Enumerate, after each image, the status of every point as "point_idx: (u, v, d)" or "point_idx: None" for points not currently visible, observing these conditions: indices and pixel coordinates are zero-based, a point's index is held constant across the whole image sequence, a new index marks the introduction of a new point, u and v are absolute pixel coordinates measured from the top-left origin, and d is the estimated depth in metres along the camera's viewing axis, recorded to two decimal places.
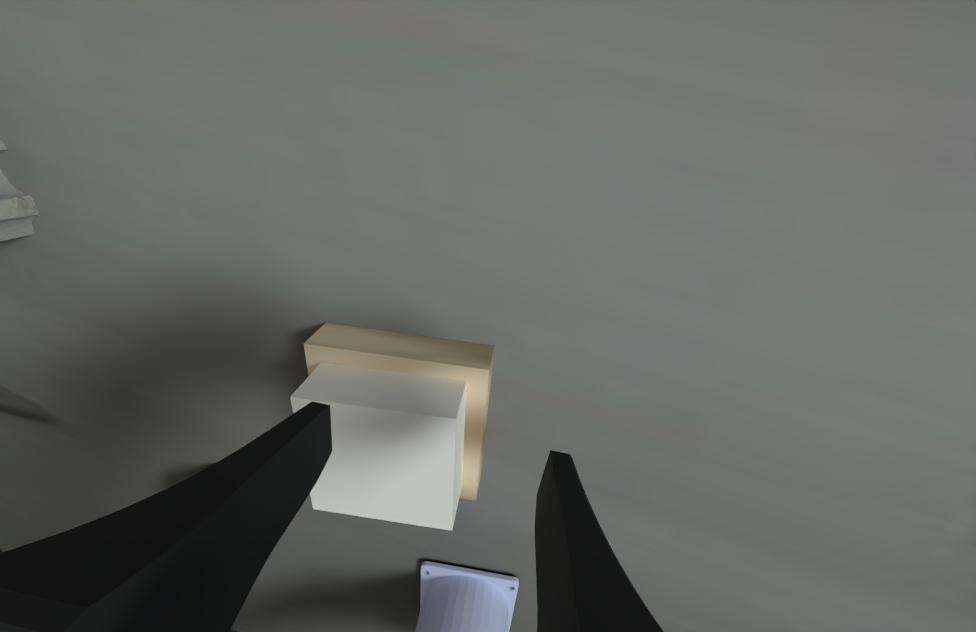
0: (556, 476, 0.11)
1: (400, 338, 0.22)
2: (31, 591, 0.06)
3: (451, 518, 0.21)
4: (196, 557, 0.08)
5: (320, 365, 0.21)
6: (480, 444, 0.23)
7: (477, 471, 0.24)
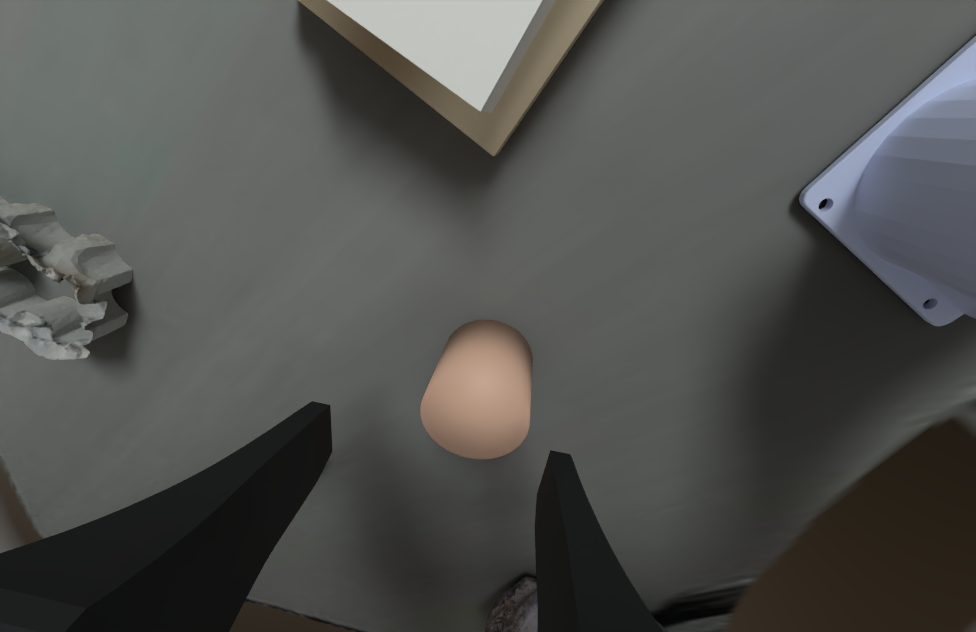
0: (556, 476, 0.11)
1: None
2: (32, 591, 0.06)
3: None
4: (196, 557, 0.08)
5: None
6: None
7: None
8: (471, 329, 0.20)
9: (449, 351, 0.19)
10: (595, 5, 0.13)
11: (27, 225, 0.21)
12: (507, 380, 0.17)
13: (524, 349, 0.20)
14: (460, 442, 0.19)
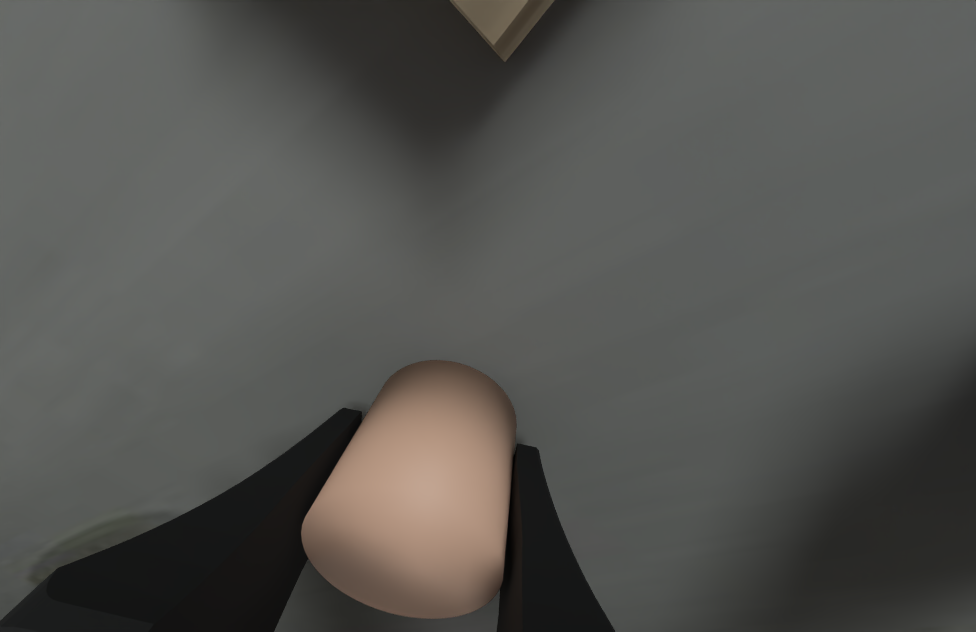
0: (519, 468, 0.11)
1: None
2: (98, 606, 0.06)
3: None
4: (246, 568, 0.08)
5: None
6: None
7: None
8: (420, 378, 0.12)
9: (375, 418, 0.11)
10: None
11: None
12: (470, 507, 0.09)
13: (505, 420, 0.12)
14: (374, 589, 0.10)
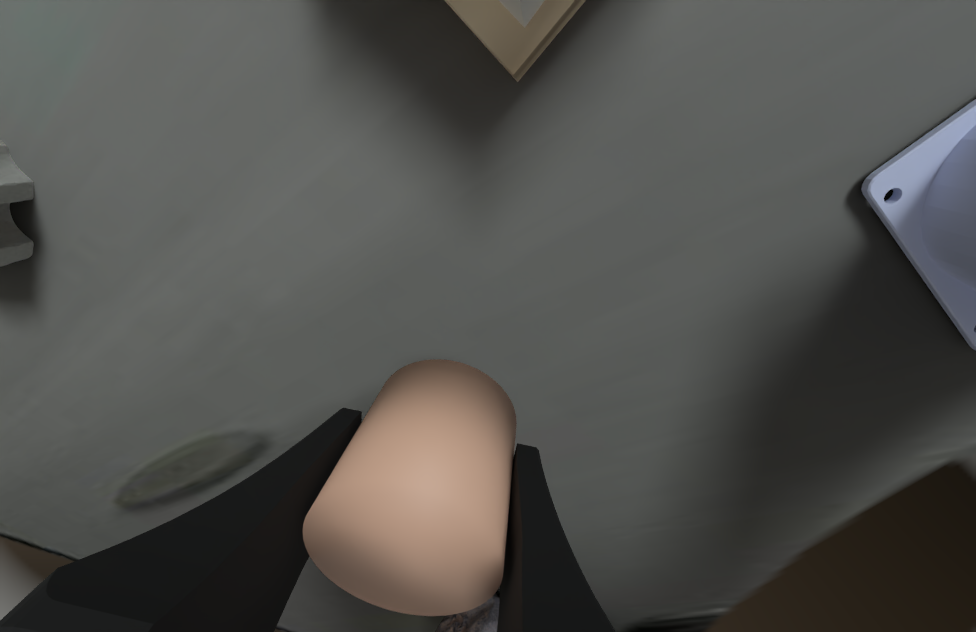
0: (519, 468, 0.11)
1: None
2: (97, 607, 0.06)
3: None
4: (246, 568, 0.08)
5: None
6: None
7: None
8: (421, 377, 0.12)
9: (375, 417, 0.11)
10: None
11: None
12: (470, 504, 0.09)
13: (505, 419, 0.12)
14: (375, 587, 0.10)
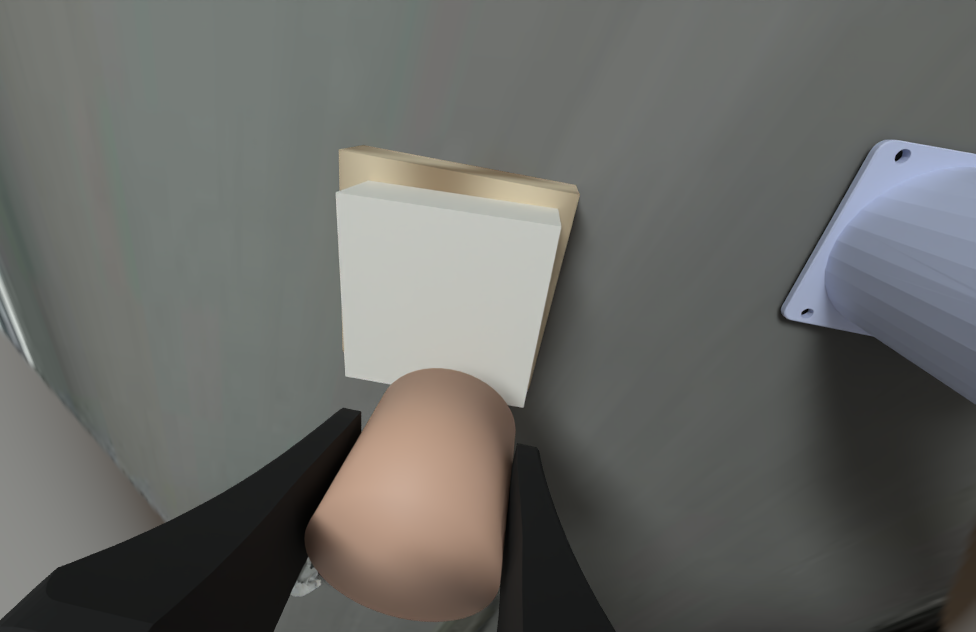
0: (519, 468, 0.11)
1: None
2: (97, 607, 0.06)
3: (531, 223, 0.14)
4: (246, 568, 0.08)
5: None
6: (462, 174, 0.16)
7: (516, 185, 0.16)
8: (413, 387, 0.12)
9: (369, 430, 0.11)
10: (553, 291, 0.18)
11: None
12: (458, 509, 0.09)
13: (500, 421, 0.12)
14: (381, 596, 0.11)
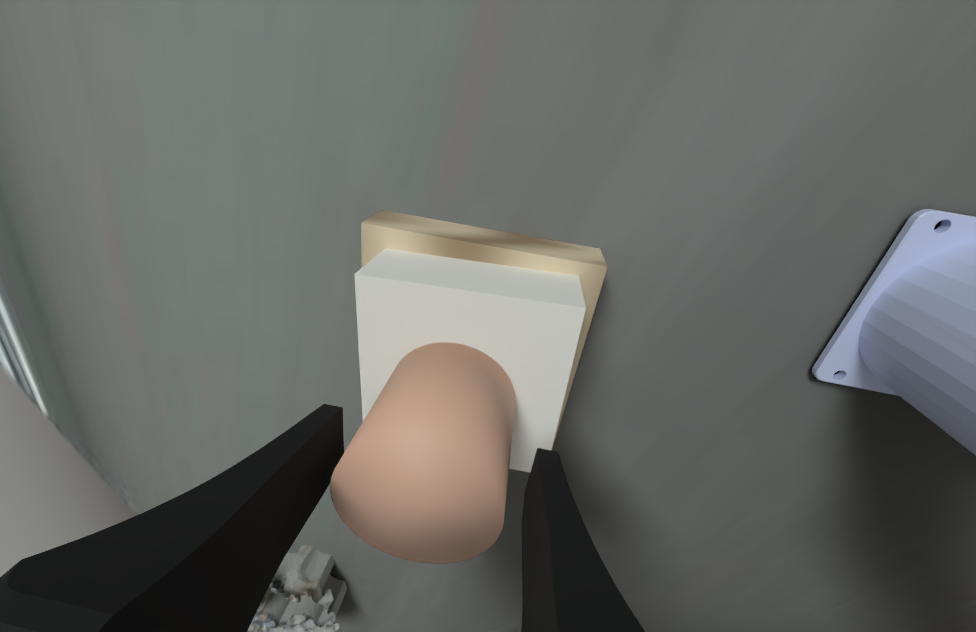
0: (541, 473, 0.11)
1: None
2: (58, 598, 0.06)
3: (555, 304, 0.13)
4: (216, 561, 0.08)
5: None
6: (487, 247, 0.16)
7: (542, 257, 0.16)
8: (422, 358, 0.14)
9: (384, 394, 0.13)
10: (579, 357, 0.17)
11: None
12: (466, 451, 0.10)
13: (501, 387, 0.14)
14: (398, 539, 0.12)
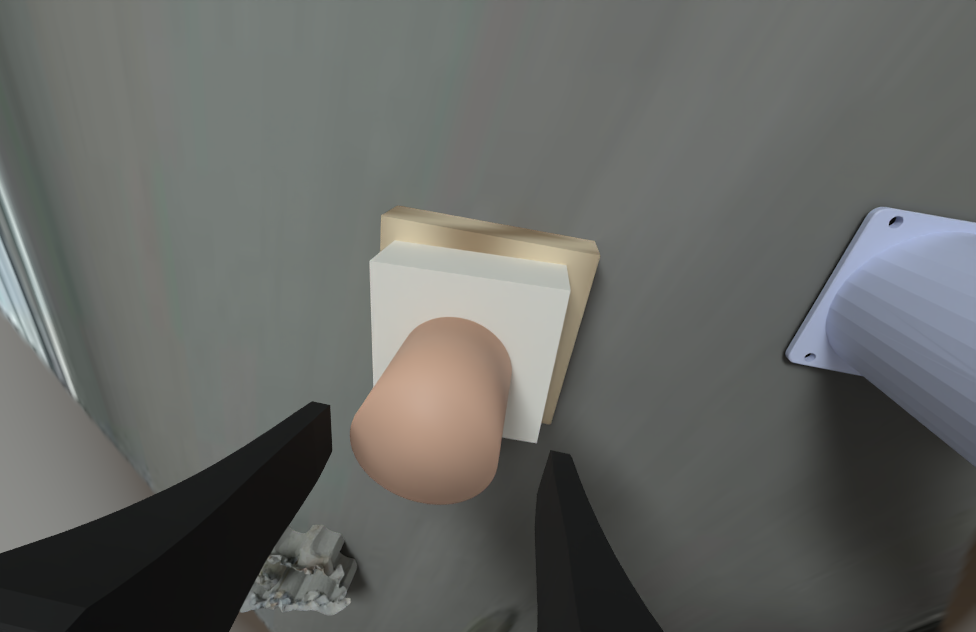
0: (556, 476, 0.11)
1: None
2: (32, 592, 0.06)
3: (544, 288, 0.15)
4: (197, 557, 0.08)
5: None
6: (493, 237, 0.18)
7: (542, 246, 0.18)
8: (431, 329, 0.16)
9: (397, 357, 0.15)
10: (575, 337, 0.19)
11: (282, 544, 0.32)
12: (468, 402, 0.12)
13: (499, 357, 0.16)
14: (406, 481, 0.14)
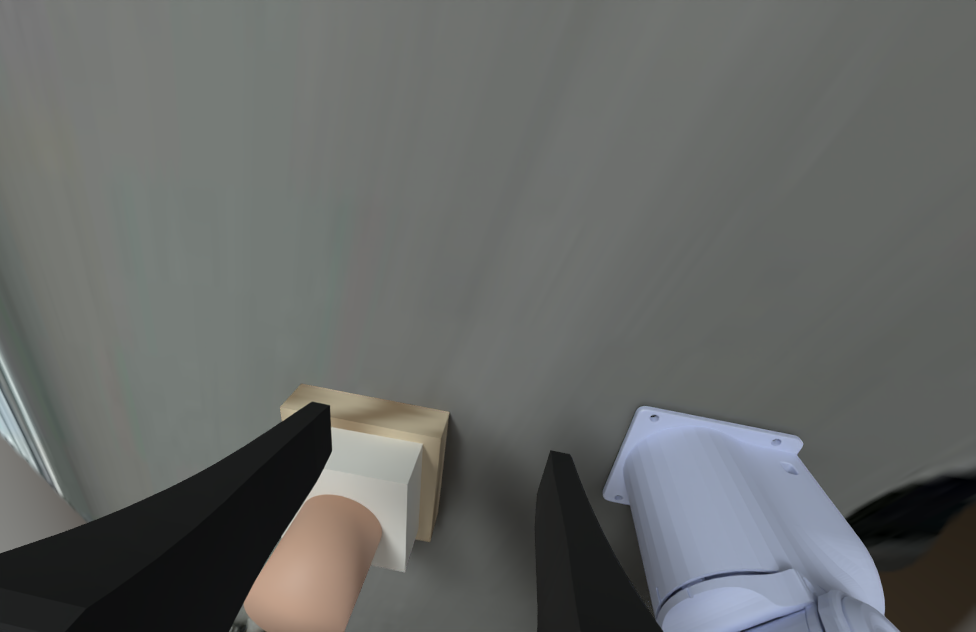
0: (556, 476, 0.11)
1: None
2: (32, 592, 0.06)
3: (389, 481, 0.21)
4: (197, 557, 0.08)
5: None
6: (362, 424, 0.24)
7: (398, 431, 0.24)
8: (312, 510, 0.22)
9: (283, 540, 0.21)
10: (435, 487, 0.25)
11: None
12: (316, 591, 0.18)
13: (362, 529, 0.22)
14: None
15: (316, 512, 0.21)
